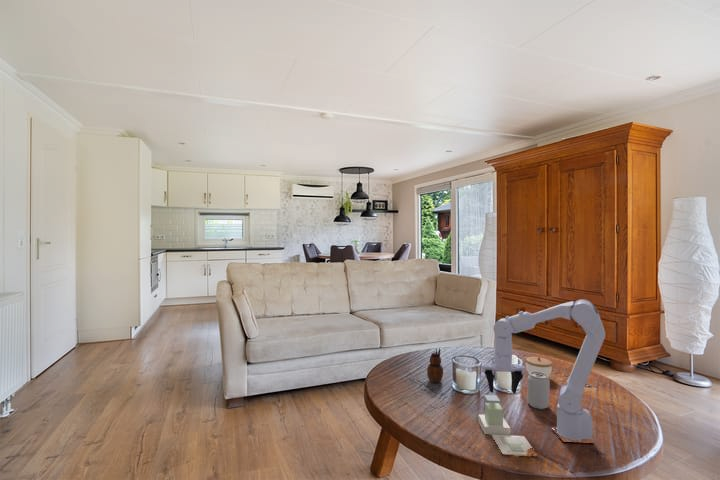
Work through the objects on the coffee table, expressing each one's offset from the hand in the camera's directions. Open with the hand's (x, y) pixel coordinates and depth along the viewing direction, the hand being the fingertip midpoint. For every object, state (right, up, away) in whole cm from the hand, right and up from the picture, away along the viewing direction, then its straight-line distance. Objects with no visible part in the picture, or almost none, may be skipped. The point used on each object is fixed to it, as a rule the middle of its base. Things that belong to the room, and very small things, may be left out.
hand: (502, 391), depth 126 cm
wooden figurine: (-17, -9, +31) cm, 37 cm away
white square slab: (-6, -10, -7) cm, 13 cm away
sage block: (-6, -7, -7) cm, 11 cm away
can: (+18, -10, +10) cm, 22 cm away
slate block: (-2, -9, +5) cm, 11 cm away
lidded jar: (+31, -9, +37) cm, 50 cm away
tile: (-3, -10, -17) cm, 20 cm away
